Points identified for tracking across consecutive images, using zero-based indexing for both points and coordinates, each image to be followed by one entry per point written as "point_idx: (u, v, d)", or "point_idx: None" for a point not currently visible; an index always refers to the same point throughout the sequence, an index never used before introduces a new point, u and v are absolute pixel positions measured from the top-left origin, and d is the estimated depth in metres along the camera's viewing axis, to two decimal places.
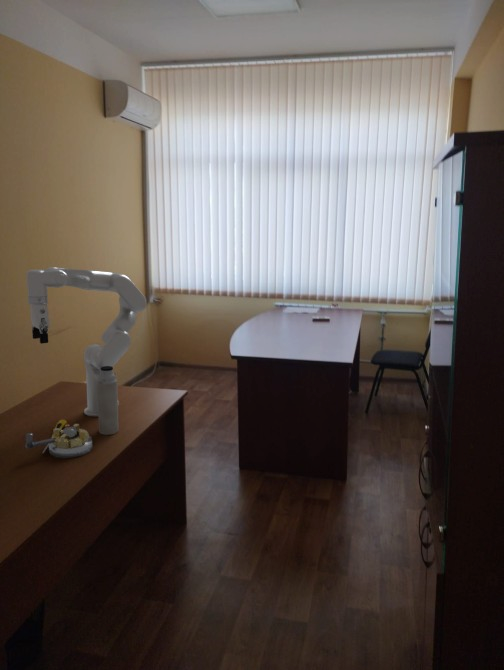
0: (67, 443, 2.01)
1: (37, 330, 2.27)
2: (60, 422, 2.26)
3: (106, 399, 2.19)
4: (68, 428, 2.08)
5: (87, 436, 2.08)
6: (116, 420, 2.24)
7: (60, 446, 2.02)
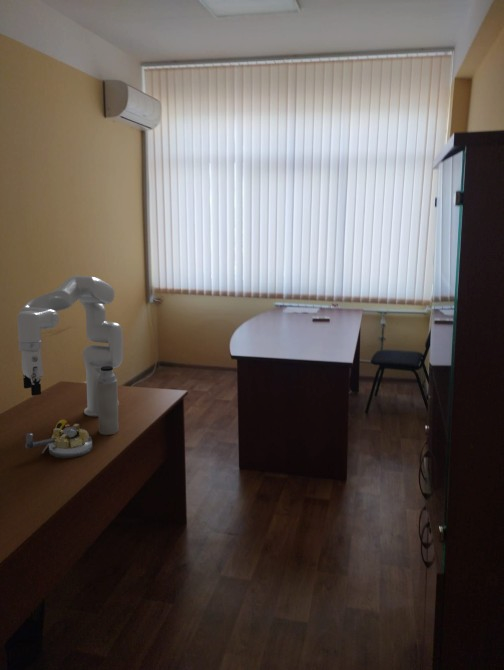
0: (67, 443, 2.01)
1: (29, 379, 1.99)
2: (60, 422, 2.26)
3: (106, 399, 2.19)
4: (68, 428, 2.08)
5: (87, 436, 2.08)
6: (116, 420, 2.24)
7: (60, 446, 2.02)
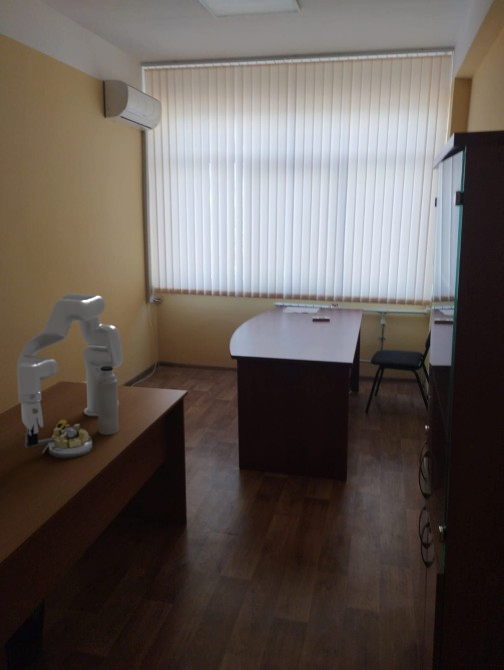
0: (66, 443, 2.01)
1: None
2: (60, 422, 2.25)
3: (106, 399, 2.19)
4: (68, 428, 2.08)
5: (87, 436, 2.07)
6: (116, 420, 2.24)
7: (59, 446, 2.02)
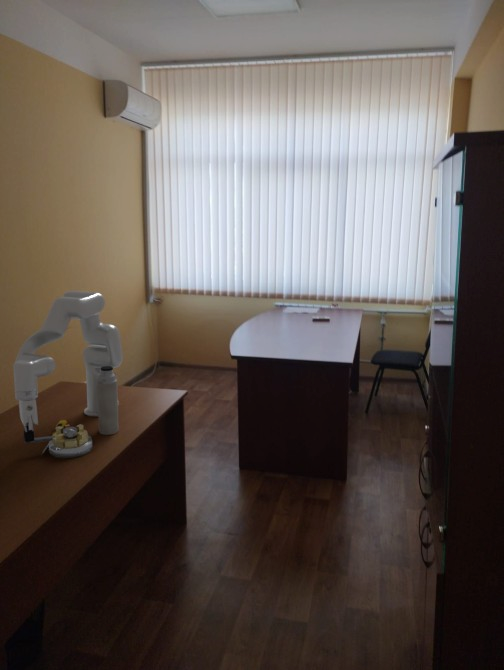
0: (61, 443, 2.01)
1: None
2: (60, 422, 2.25)
3: (106, 399, 2.19)
4: (68, 428, 2.08)
5: (85, 438, 2.06)
6: (116, 420, 2.24)
7: (56, 445, 2.02)
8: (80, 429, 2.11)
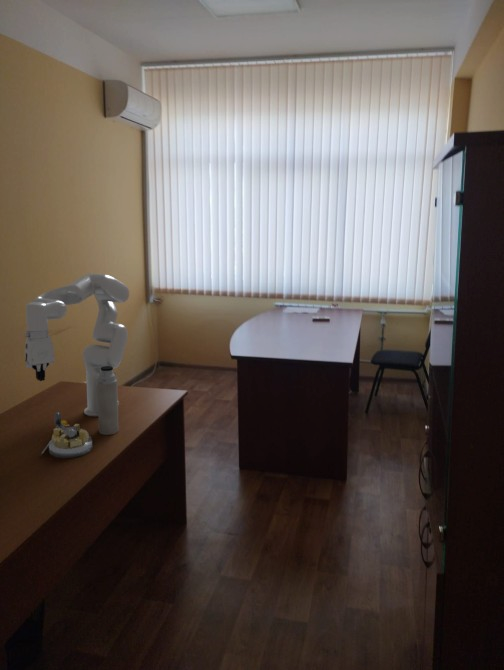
0: None
1: None
2: None
3: (106, 399, 2.19)
4: (68, 428, 2.08)
5: (65, 443, 2.01)
6: (116, 420, 2.24)
7: None
8: (80, 435, 2.06)
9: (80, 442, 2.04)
